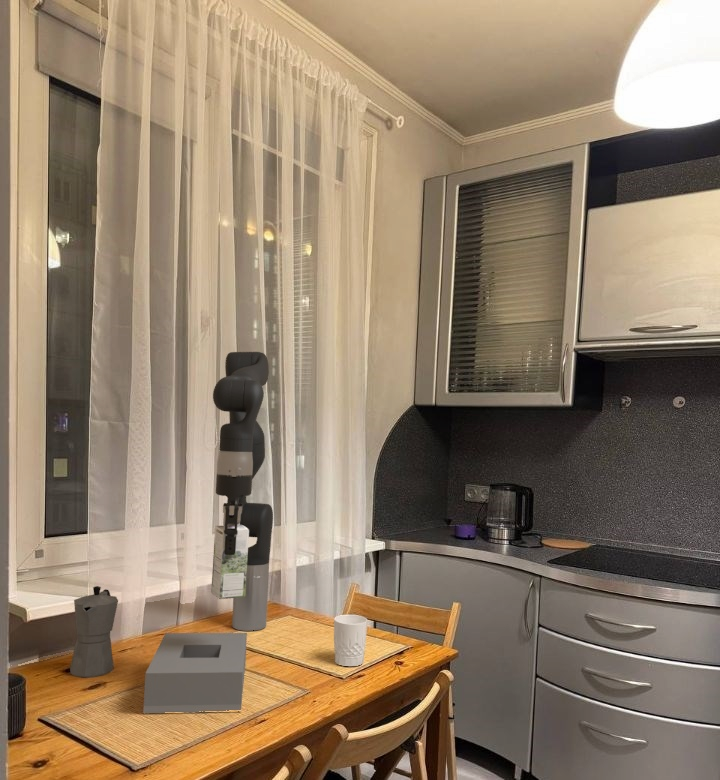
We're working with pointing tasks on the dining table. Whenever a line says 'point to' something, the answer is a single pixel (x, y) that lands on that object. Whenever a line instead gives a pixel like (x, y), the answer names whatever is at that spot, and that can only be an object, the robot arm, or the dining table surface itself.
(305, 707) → the dining table surface
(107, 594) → the coffeepot
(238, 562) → the syrup box
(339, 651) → the white cup
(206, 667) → the post block
